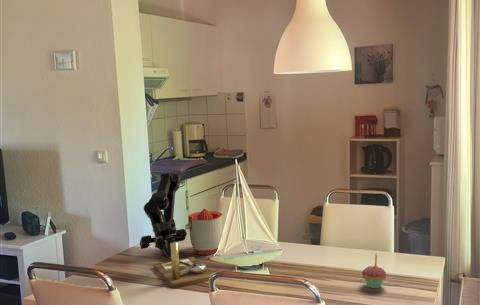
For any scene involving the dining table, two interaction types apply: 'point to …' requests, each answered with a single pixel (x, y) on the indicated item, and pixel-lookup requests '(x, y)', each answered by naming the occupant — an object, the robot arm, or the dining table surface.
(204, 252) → the citrus juicer
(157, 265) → the level stand
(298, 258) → the dining table surface
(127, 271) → the dining table surface
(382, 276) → the cupcake
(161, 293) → the dining table surface
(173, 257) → the capstan cam
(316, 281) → the dining table surface
